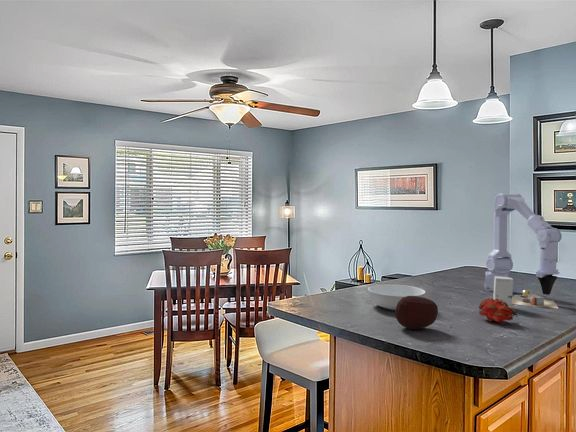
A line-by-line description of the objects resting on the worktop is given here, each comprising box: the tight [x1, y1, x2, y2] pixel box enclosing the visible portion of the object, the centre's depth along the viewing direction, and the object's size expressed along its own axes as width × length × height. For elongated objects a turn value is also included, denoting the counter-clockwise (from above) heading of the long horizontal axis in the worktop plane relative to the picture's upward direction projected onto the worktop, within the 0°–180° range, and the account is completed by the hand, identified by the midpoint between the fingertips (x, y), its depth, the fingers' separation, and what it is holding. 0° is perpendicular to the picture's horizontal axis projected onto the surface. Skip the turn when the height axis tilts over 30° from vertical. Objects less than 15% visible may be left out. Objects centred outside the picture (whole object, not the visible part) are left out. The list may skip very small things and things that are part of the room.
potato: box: [394, 296, 439, 330], centre depth 138 cm, size 11×13×10 cm
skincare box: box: [492, 276, 514, 309], centre depth 165 cm, size 6×4×12 cm
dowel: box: [531, 297, 535, 305], centre depth 170 cm, size 1×1×3 cm
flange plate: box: [513, 293, 545, 306], centre depth 175 cm, size 14×7×3 cm, turn 0°
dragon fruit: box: [478, 297, 518, 325], centre depth 148 cm, size 8×8×12 cm
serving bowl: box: [367, 283, 427, 311], centre depth 166 cm, size 21×21×7 cm
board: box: [512, 296, 559, 310], centre depth 176 cm, size 17×16×1 cm
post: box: [521, 289, 532, 298], centre depth 178 cm, size 3×3×4 cm
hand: (546, 294), depth 173 cm, fingers closed
